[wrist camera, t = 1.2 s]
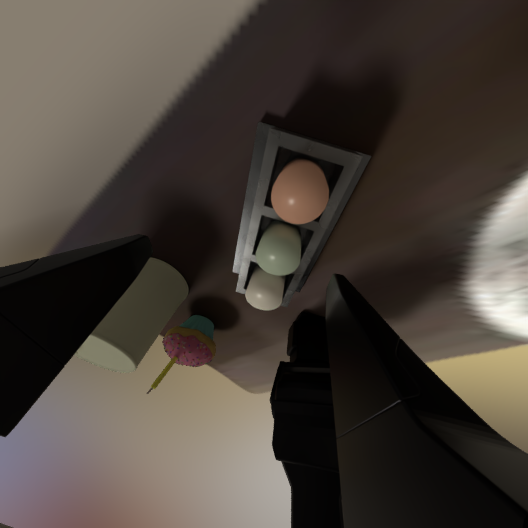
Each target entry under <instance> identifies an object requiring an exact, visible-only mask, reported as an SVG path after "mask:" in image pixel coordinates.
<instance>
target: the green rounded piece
mask: <svg viewBox="0 0 528 528" xmlns="http://www.w3.org/2000/svg"><path fill="white" fill-rule="evenodd" d="M301 239H302V236H301V231H300V229H299V228H298V226H296V225H293V224H290V223H286V222H283V221H280V220H275V221H273V222H271V223H270V224H268V225H267V227H266V228H265V230H264V233H263V235H262V238H261V240H260V243H259V245H258V248H257V251H256V260H257V263H258V265H259V266H260V267H261V268H262V269H263V270H264V271H266V272H267V273H270V274H272V275H279V276H281V275H287V274H290V273H292V272H293V271H295V270H296V269H297V267H298V266H299V264H300V258H301Z"/></svg>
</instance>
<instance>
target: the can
mask: <svg viewBox="0 0 528 528" xmlns="http://www.w3.org/2000/svg"><path fill="white" fill-rule="evenodd" d="M188 292H189V289H188V285H187V282H186V281H185V279H184V277H183V276H182V275H181V274H180V273H179V272H178V271H177V270H176V269H175V268H174V267H172V266H171V265H169V264H168V263H166V262H164V261H161V260H159V259H156V258H151V257H150V258H149V260H148V261H147V263H146V264H145V266H144V267H143V269H142V271H141V272H140V274H139V275H138V277H137V278H136V279H135V281H134V282H133V283H132V284H131V286H130V287H129V288H128V289H127V290H126V292H125V293H124V294H123V295H122V297H121V298H120V299H119V300H118V301H117V303H116V304H115V305H114V306H113V308H112V309H111V310H110V311H109V312H108V314H107V315H106V316H105V317H104V319H103V320H102V321H101V322H100V323H99V325H98V326H97V327H96V328H95V330H94V331H93V332H92V333H91V334H90V336H89V337H88V338H87V339H86V341H85V342H84V343H83V344H82V345H81V347H80V348H79V349H78V350H77V352H76V353H75V354H74V355H76V356H77V357H79V358H81V359H83V360H85V361H87V362H89V363H91V364H94V365H96V366H99V367H102V368H104V369H108V370H111V371H115V372H121V373H130V372H133V371H134V370H136V368H137V366H138V364H139V363H140V361H141V360H142V359H143V357H144V356H145V354H146V352H147V351H148V350H149V348H150V346H151V345H152V344H153V342H154V341H155V340H156V338H157V337H158V335H159V334H160V332H161V331H162V329H163V328H164V327H165V325H166V324H167V322H168V321H169V320H170V318H171V317H172V315H173V314H174V312H175V311H176V310H177V308H178V307H179V306H180V304H181V303H182V302H183V300H185V299H186V297H187V296H188Z"/></svg>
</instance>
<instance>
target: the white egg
mask: <svg viewBox="0 0 528 528" xmlns="http://www.w3.org/2000/svg"><path fill="white" fill-rule="evenodd" d="M284 283H285V275H281V276H279V275H272V274H270V273H267V272H266V271H264V270H263V269H262V268H261V267H260V266H259V265H257V266H256V267H255V268H254V271H253V274H252V276H251V279H250V282H249V285H248V287H247V290H246V293H245V296H246V299H247V301H248V302H249V303H250V304H251V305H252V306H253V307H255V308H258V309H261V310H273V309H276V308H278V307H279V306H280V305H281V303H282V297H283V290H284Z"/></svg>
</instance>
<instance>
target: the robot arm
mask: <svg viewBox="0 0 528 528" xmlns="http://www.w3.org/2000/svg"><path fill="white" fill-rule="evenodd" d="M152 253H153V249H152V246H151V243H150V240H149V238H148V236H145V235H140V234H138V235H133V236H129V237H125V238H121V239H117V240H113V241H109V242H105V243H100V244H96V245H92V246H88V247H84V248H80V249H76V250H72V251H67V252H63V253H59V254H55V255H51V256H47V257H43V258H40V259H34V260H31V261H26V262H22V263H18V264H13V265H9V266H5V267H0V436H3V437H6V436H7V435H8V434H9V433H10V432H11V431H12V430H13V429H14V428H15V426H16V425H17V424H18V423H19V421H20V420H21V419H22V418H23V417H24V415H25V414H26V413H27V412H28V411H29V409H30V408H31V407H32V405H33V404H34V403H35V402H36V401H37V400H38V398H39V397H40V396H41V395H42V393H43V392H44V391H45V390H46V389H47V387H48V386H49V385H50V384H51V382H52V381H53V380H54V379H55V377H56V376H57V375H58V374H59V373H60V371H61V370H62V369H63V368H64V366H65V365H66V364H67V363H68V361H69V360H70V359H71V358H72V356H73V355H74V354H75V353H76V352H77V350H78V349H79V348H80V347H81V345H82V344H83V343H84V342H85V341H86V339H87V338H88V337H89V336H90V334H91V333H92V332H93V331H94V330H95V328H96V327H97V326H98V325H99V323H100V322H101V321H102V320H103V319H104V317H105V316H106V315H107V314H108V312H109V311H110V310H111V309H112V308H113V306H114V305H115V304H116V303H117V301H118V300H119V299H120V298H121V297H122V295H123V294H124V293H125V292H126V290H127V289H128V288H129V287H130V286H131V284H132V283H133V282H134V281H135V279H136V278H137V277H138V275H139V274H140V272H141V271H142V269H143V267H144V266H145V264H146V263H147V261H148V260H149V258H150V257H151V255H152ZM287 355H288V356H290V362H284V361H280V364H279V367H278V369H277V373H276V377H275V380H274V384H273V388H272V392H271V397H270V403H271V409H272V415H273V418H274V430H273V441H272V446H273V451H274V454H275V458H276V460H278V461H281V462H282V464H283V467H284V470H285V473H286V475H287V478H288V481H289V483H290V486H291V528H528V454H527V453H526V452H524V451H522V450H521V449H519V448H518V447H516V446H515V445H513V444H512V443H510V442H509V441H508V440H506V439H505V438H503V437H502V436H501V435H500V434H498V433H497V432H496V431H495V430H494V429H492V428H491V427H490V426H489V425H488V424H487V423H486V422H485V421H484V420H483V419H482V418H480V417H479V416H478V415H477V414H476V413H475V412H474V411H473V410H472V409H471V408H470V407H469V406H468V405H467V404H466V403H465V402H464V401H463V400H462V399H461V398H460V397H459V396H458V395H457V394H456V393H454V391H452V390H451V389H450V388H449V387H448V386H447V385H446V384H445V383H444V382H443V381H442V380H441V379H440V378H439V377H438V376H437V375H436V374H435V373H434V372H433V371H432V370H431V369H430V368H429V367H428V366H427V365H426V364H425V363H424V362H423V361H422V360H421V359H420V358H419V357H418V356H417V355H416V354H415V353H414V352H413V351H412V349H411V348H410V347H409V346H408V345H407V344H406V343H405V342H404V341H403V340H402V339H400V337H399V335H398V334H397V333H396V332H395V331H394V330H393V329H392V328H391V327H390V326H389V325H388V323H387V322H386V321H385V320H384V319H383V318H382V317H381V316H380V315H379V314H378V313H377V311H376V310H375V309H374V308H373V307H372V306H371V305H370V304H369V303H368V302H367V301H366V299H365V298H364V297H363V296H362V295H361V294H360V293H359V292H358V291H357V290H356V289H355V287H354V286H353V285H352V284H351V283H350V282H349V281H348V280H347V279H346V278H345V277H344V276H343V275H340V274H333V275H332V278H331V280H330V282H329V284H328V287H327V293H326V318H323V317H320V316H316V315H313V314H310V313H307V312H301V313H300V315H299V317H298V318H297V320H296V321H294V322H293V324H292V326H291V327H290V329H289V333H288V344H287ZM0 528H12V527H10V526H7V525H4V524H1V523H0Z"/></svg>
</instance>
